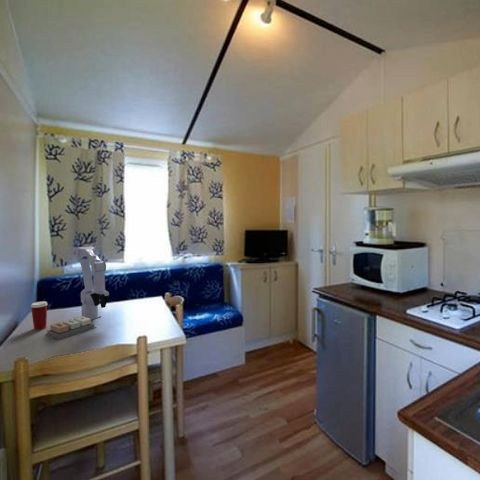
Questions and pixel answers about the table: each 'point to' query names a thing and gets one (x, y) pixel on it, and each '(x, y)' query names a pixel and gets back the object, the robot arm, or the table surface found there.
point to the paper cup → (39, 315)
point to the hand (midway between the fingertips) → (100, 306)
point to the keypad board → (69, 331)
